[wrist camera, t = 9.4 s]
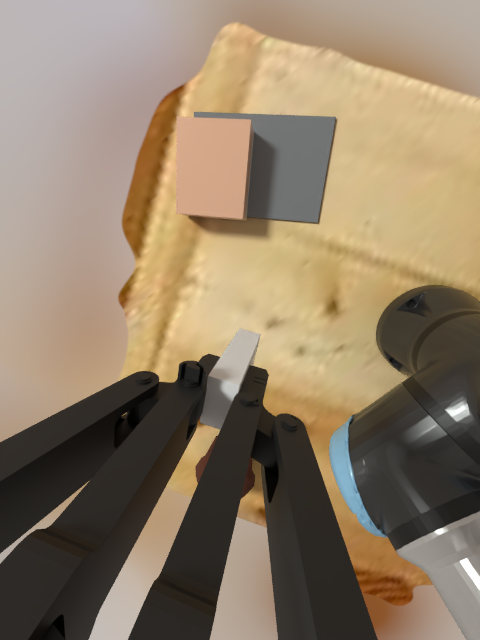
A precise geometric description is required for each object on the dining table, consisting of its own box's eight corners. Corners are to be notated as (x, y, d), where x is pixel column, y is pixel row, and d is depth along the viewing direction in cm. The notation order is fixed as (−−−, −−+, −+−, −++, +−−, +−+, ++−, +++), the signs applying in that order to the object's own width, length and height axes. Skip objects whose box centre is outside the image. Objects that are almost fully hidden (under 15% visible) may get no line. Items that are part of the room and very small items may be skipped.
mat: (317, 222, 39) (317, 222, 39) (192, 212, 42) (191, 212, 41) (335, 117, 35) (335, 117, 35) (194, 112, 37) (194, 111, 37)
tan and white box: (242, 219, 37) (251, 119, 33) (176, 213, 38) (176, 116, 34) (246, 220, 41) (254, 131, 37) (185, 215, 42) (187, 128, 38)
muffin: (253, 426, 53) (247, 467, 43) (261, 468, 56) (258, 515, 46) (199, 429, 55) (182, 468, 46) (210, 469, 58) (196, 514, 49)
